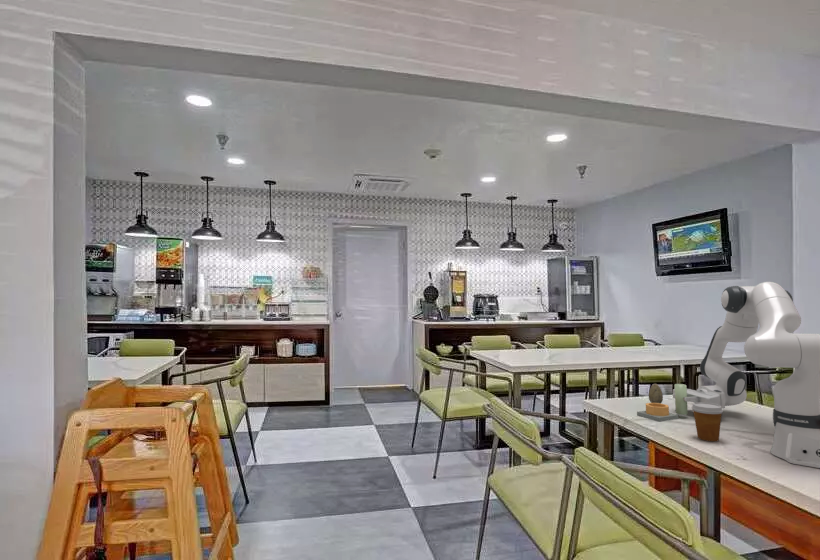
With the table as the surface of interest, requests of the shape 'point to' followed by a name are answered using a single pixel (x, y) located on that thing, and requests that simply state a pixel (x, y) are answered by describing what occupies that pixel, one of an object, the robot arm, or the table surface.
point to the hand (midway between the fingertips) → (679, 397)
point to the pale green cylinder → (681, 399)
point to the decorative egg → (655, 394)
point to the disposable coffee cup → (707, 420)
